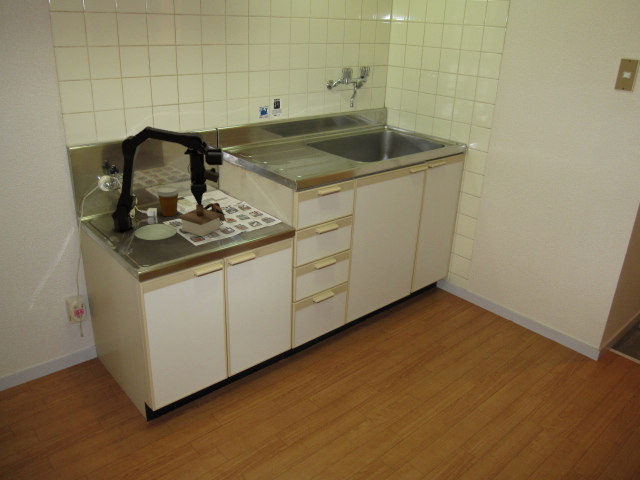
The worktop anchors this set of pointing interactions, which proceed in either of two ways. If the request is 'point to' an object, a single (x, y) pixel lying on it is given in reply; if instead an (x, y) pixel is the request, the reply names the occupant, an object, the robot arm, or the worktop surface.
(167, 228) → the sage mat
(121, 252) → the worktop surface
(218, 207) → the brown curved piece
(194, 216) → the walnut lid
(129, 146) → the robot arm
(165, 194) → the disposable coffee cup
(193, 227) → the cream open box
